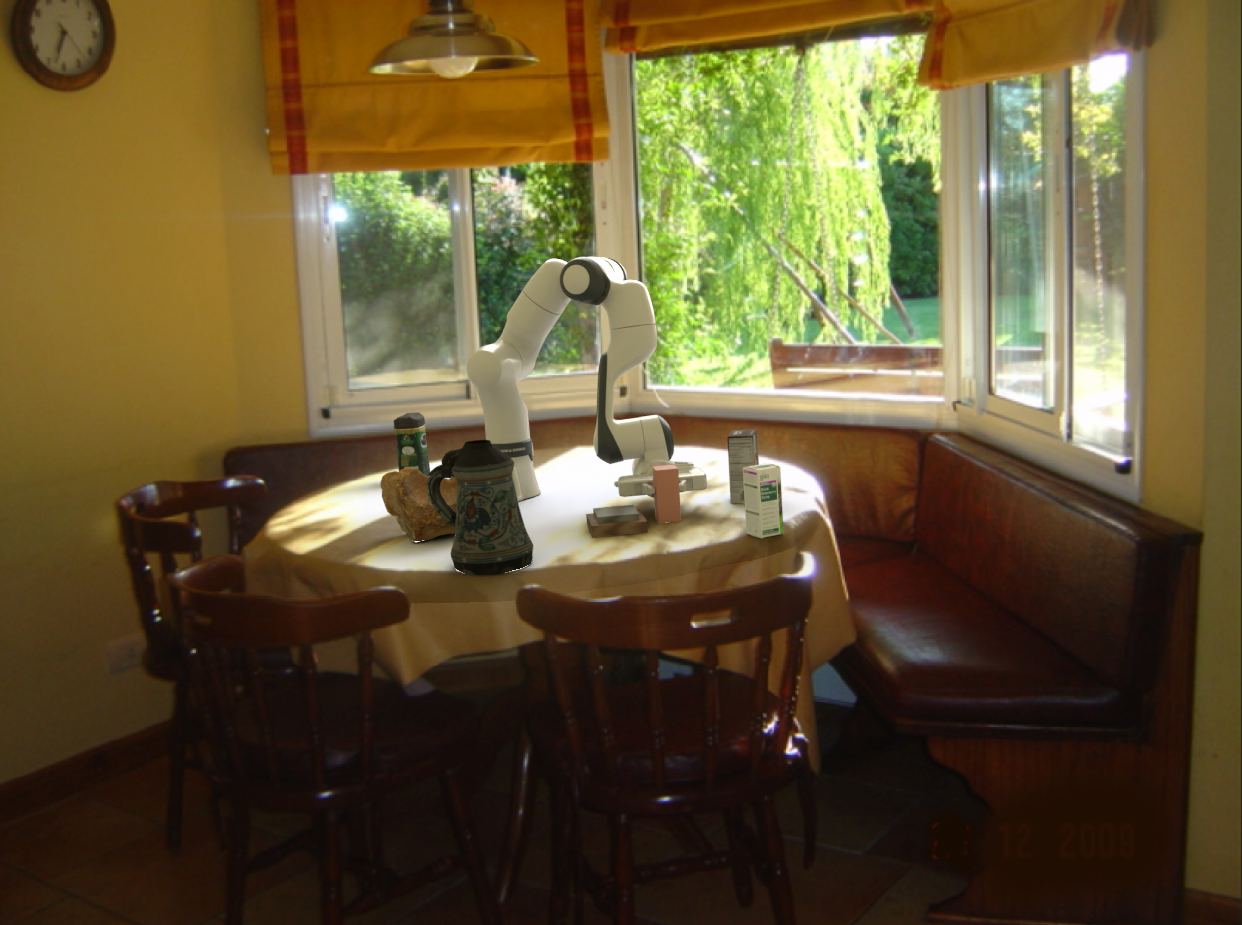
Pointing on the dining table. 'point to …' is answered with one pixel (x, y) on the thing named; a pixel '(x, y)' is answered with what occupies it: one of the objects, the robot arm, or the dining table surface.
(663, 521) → the carton
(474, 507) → the beer stein
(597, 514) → the podium
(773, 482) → the syrup box
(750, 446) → the coffee box
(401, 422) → the coffee jar
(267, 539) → the dining table surface
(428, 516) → the rough brown rock
